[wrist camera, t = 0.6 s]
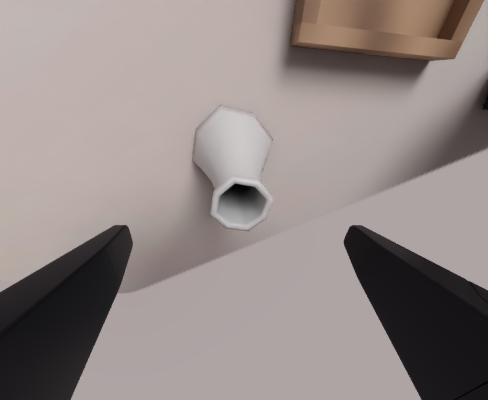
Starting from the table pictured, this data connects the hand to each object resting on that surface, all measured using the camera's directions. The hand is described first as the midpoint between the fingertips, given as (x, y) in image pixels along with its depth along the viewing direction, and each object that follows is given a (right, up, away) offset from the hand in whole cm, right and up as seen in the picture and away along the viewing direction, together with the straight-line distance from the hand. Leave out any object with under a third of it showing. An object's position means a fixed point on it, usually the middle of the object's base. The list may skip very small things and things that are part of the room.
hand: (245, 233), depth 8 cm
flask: (-1, +6, +11) cm, 13 cm away
